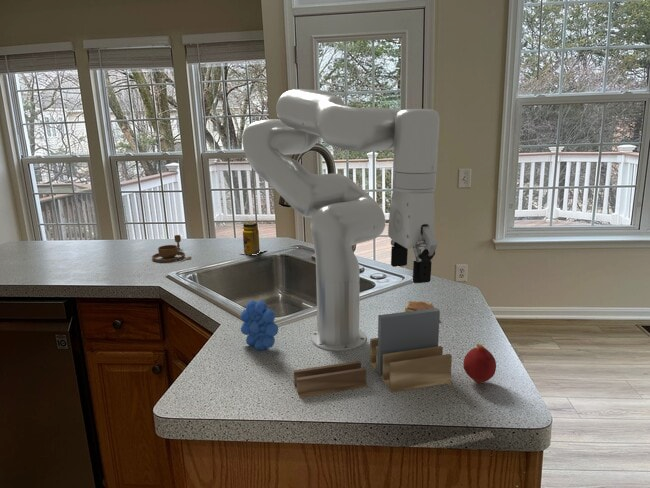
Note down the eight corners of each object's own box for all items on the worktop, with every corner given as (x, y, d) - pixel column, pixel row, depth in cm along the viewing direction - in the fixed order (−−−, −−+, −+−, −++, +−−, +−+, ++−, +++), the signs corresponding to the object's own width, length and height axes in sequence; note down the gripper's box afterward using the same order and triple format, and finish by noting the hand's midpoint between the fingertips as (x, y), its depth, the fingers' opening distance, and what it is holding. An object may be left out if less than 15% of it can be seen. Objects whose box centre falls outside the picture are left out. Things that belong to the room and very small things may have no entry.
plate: (377, 372, 90) (378, 315, 87) (433, 363, 93) (436, 308, 90) (380, 376, 89) (381, 318, 86) (437, 367, 92) (439, 310, 89)
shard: (438, 323, 115) (438, 317, 115) (407, 323, 116) (407, 316, 115) (432, 307, 126) (432, 301, 125) (403, 307, 126) (403, 301, 126)
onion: (487, 374, 91) (490, 336, 89) (499, 390, 85) (503, 350, 83) (458, 375, 91) (460, 337, 89) (468, 391, 85) (471, 351, 83)
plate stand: (292, 384, 88) (292, 367, 87) (357, 374, 92) (357, 357, 91) (299, 401, 83) (298, 383, 82) (368, 390, 86) (368, 372, 85)
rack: (369, 364, 95) (369, 337, 94) (422, 356, 98) (423, 330, 97) (392, 396, 84) (392, 366, 82) (451, 386, 87) (453, 357, 85)
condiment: (239, 254, 179) (237, 224, 176) (252, 249, 186) (250, 220, 183) (254, 256, 176) (253, 225, 173) (267, 251, 183) (266, 221, 180)
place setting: (139, 260, 174) (137, 245, 173) (177, 248, 192) (176, 234, 190) (174, 266, 167) (173, 250, 165) (211, 252, 184) (209, 238, 183)
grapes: (292, 351, 101) (290, 300, 98) (269, 363, 96) (266, 309, 93) (258, 336, 109) (255, 288, 106) (235, 346, 104) (231, 296, 101)
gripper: (376, 176, 89) (374, 261, 93) (416, 189, 73) (411, 291, 77) (412, 175, 91) (408, 258, 95) (458, 187, 75) (451, 287, 79)
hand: (409, 273), depth 86 cm, fingers open, 9 cm apart
